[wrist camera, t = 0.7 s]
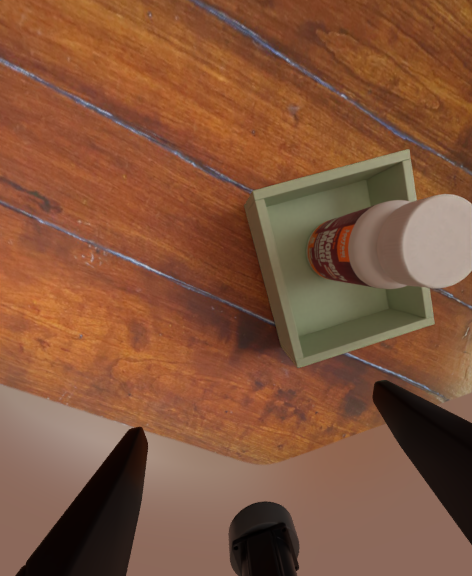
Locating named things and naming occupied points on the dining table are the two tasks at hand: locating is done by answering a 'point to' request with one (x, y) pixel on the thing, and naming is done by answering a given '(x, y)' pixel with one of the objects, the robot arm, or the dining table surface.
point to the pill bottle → (397, 244)
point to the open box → (320, 291)
